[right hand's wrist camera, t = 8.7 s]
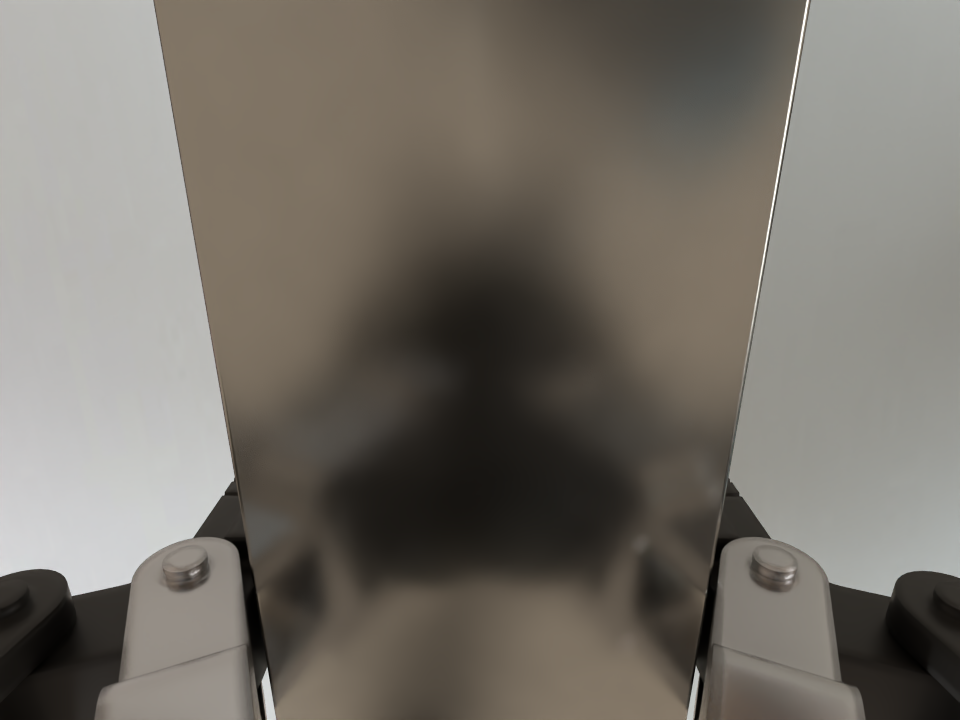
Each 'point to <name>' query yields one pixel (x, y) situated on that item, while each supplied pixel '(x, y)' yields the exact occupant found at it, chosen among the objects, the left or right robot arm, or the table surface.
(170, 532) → the table surface
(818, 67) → the table surface
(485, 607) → the bar
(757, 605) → the right robot arm
